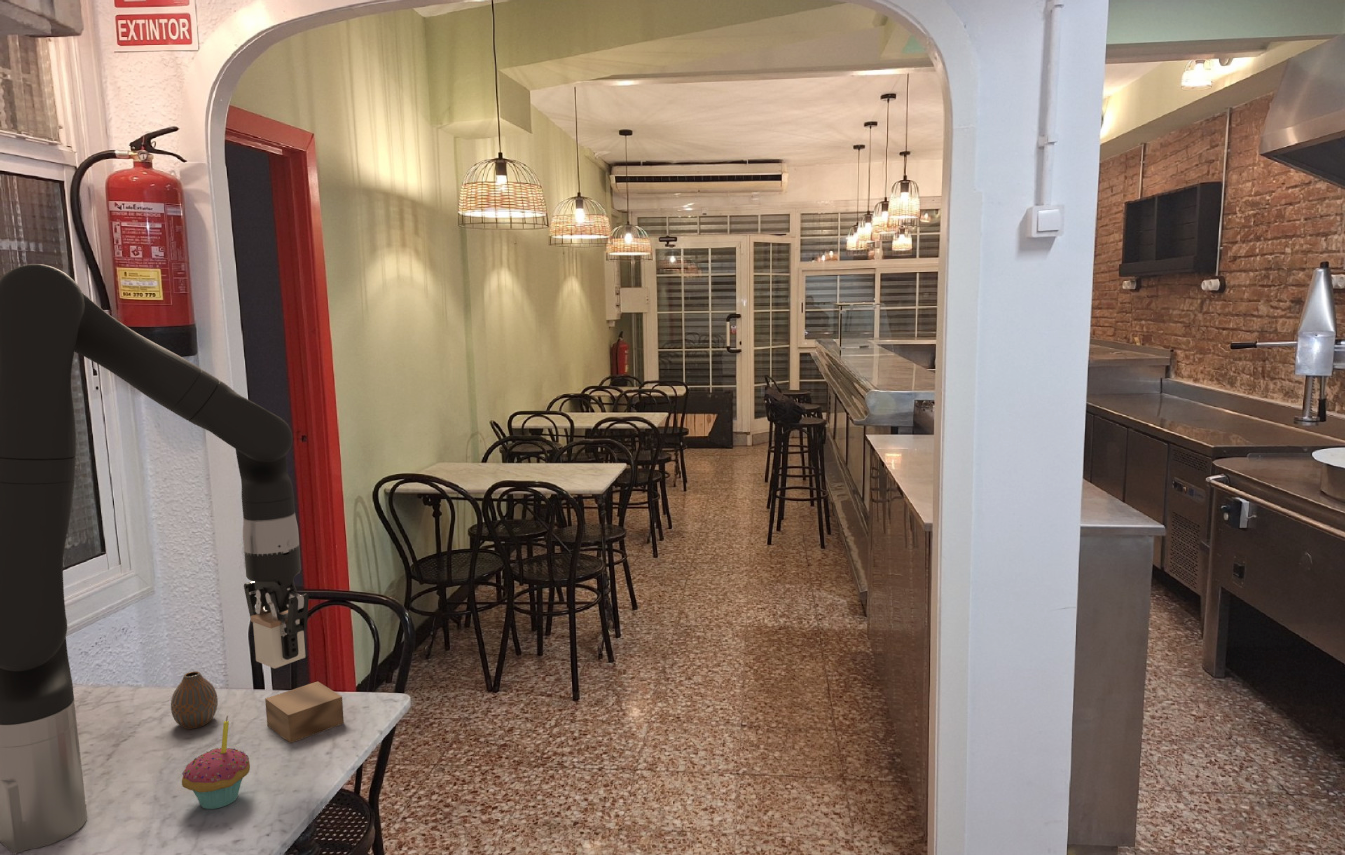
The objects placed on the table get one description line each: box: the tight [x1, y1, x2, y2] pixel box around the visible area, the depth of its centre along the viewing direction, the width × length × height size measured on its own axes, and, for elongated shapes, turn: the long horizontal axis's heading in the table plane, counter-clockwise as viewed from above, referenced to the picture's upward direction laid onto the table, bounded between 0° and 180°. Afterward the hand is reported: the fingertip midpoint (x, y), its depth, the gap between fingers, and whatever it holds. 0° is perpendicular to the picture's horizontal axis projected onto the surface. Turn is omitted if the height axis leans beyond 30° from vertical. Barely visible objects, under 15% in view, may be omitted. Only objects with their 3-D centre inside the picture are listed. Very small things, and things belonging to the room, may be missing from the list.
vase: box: [170, 670, 219, 730], centre depth 145 cm, size 7×7×9 cm
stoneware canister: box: [249, 610, 306, 669], centre depth 130 cm, size 5×5×7 cm
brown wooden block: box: [264, 681, 345, 744], centre depth 145 cm, size 9×9×5 cm
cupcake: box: [181, 715, 251, 810], centre depth 122 cm, size 9×8×12 cm
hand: (280, 653), depth 131 cm, fingers closed on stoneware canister, 5 cm apart
